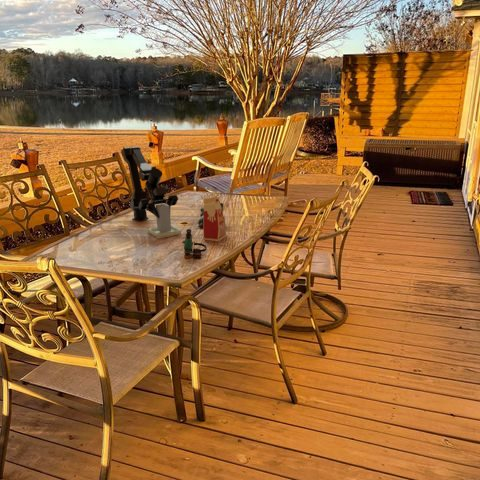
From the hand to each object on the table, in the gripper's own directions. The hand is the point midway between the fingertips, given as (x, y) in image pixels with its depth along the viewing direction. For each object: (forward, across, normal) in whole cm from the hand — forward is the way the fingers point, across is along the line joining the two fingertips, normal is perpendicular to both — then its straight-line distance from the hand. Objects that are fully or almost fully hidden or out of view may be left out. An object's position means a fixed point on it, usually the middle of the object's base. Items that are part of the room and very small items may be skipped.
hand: (164, 216), depth 216 cm
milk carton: (+19, +16, -7) cm, 26 cm away
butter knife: (+31, -16, -18) cm, 39 cm away
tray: (+5, 0, +7) cm, 9 cm away
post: (+4, 0, +6) cm, 7 cm away
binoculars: (+32, -2, -19) cm, 37 cm away
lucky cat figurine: (+6, +25, +7) cm, 27 cm away
